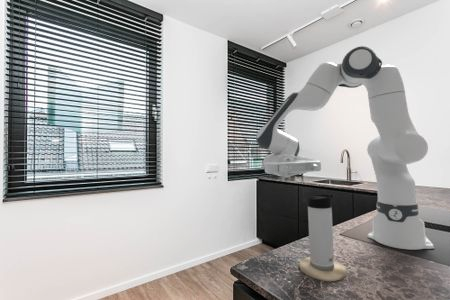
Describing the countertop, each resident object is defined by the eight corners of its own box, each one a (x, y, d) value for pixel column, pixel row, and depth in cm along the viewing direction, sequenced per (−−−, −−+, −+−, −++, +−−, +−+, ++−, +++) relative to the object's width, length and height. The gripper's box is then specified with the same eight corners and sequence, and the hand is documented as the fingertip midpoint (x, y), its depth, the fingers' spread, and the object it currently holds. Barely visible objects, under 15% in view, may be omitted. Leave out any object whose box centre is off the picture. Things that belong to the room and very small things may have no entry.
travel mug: (338, 271, 61) (335, 196, 62) (312, 270, 63) (309, 196, 63) (331, 261, 68) (328, 192, 68) (308, 260, 69) (305, 192, 69)
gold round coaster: (308, 256, 73) (308, 253, 73) (350, 267, 66) (350, 263, 66) (292, 271, 64) (292, 268, 64) (339, 286, 56) (339, 282, 56)
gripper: (258, 158, 88) (272, 160, 74) (308, 156, 91) (330, 157, 78) (259, 175, 88) (273, 180, 74) (308, 172, 91) (330, 176, 78)
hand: (302, 168), depth 76 cm, fingers open, 8 cm apart
